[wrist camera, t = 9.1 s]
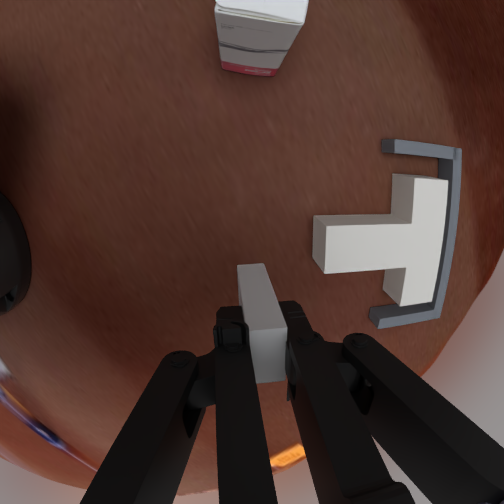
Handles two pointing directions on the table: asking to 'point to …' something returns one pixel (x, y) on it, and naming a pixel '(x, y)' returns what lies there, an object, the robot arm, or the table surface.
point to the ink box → (257, 33)
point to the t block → (390, 239)
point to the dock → (451, 172)
